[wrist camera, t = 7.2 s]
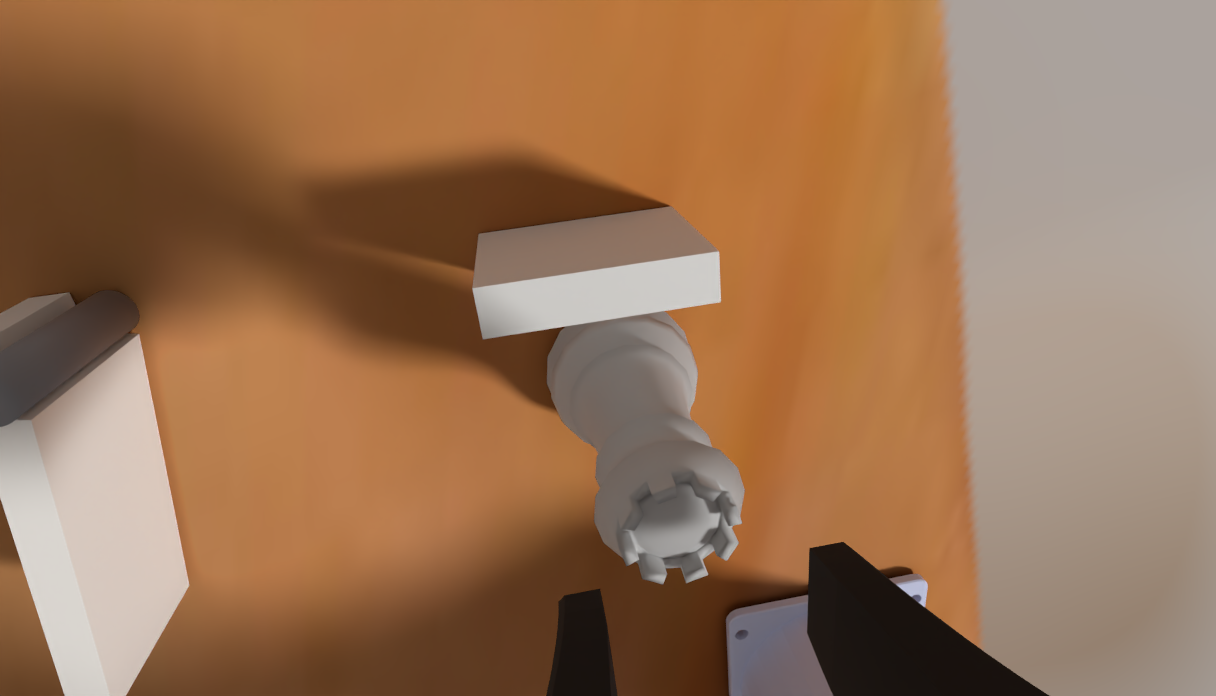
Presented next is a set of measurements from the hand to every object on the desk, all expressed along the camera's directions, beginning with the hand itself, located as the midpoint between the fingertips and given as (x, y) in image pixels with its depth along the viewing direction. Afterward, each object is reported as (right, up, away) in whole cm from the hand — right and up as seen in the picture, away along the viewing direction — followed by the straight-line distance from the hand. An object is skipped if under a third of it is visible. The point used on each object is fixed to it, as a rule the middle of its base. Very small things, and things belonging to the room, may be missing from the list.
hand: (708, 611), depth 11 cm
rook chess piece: (-1, +4, +9) cm, 10 cm away
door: (-15, +2, +8) cm, 17 cm away
